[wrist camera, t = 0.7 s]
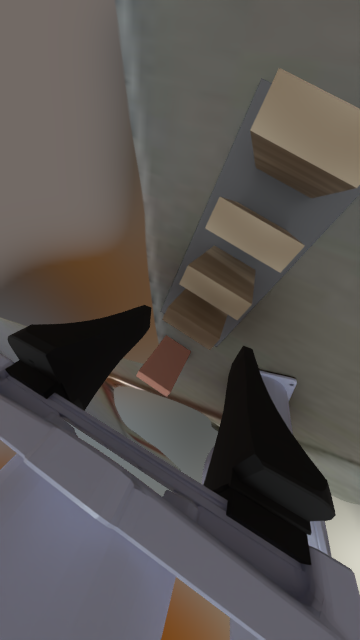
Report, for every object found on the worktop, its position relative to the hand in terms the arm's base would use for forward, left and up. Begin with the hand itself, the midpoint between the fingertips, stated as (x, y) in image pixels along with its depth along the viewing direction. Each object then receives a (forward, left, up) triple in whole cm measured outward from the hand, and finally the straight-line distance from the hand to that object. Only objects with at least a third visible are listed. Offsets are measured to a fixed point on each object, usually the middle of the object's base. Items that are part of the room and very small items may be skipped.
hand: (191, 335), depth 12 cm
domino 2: (+3, -1, -10) cm, 10 cm away
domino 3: (-1, +1, -10) cm, 10 cm away
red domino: (-11, +7, -10) cm, 16 cm away
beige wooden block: (+10, -5, -10) cm, 15 cm away
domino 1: (+6, -3, -10) cm, 12 cm away
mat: (+3, -1, -10) cm, 10 cm away
